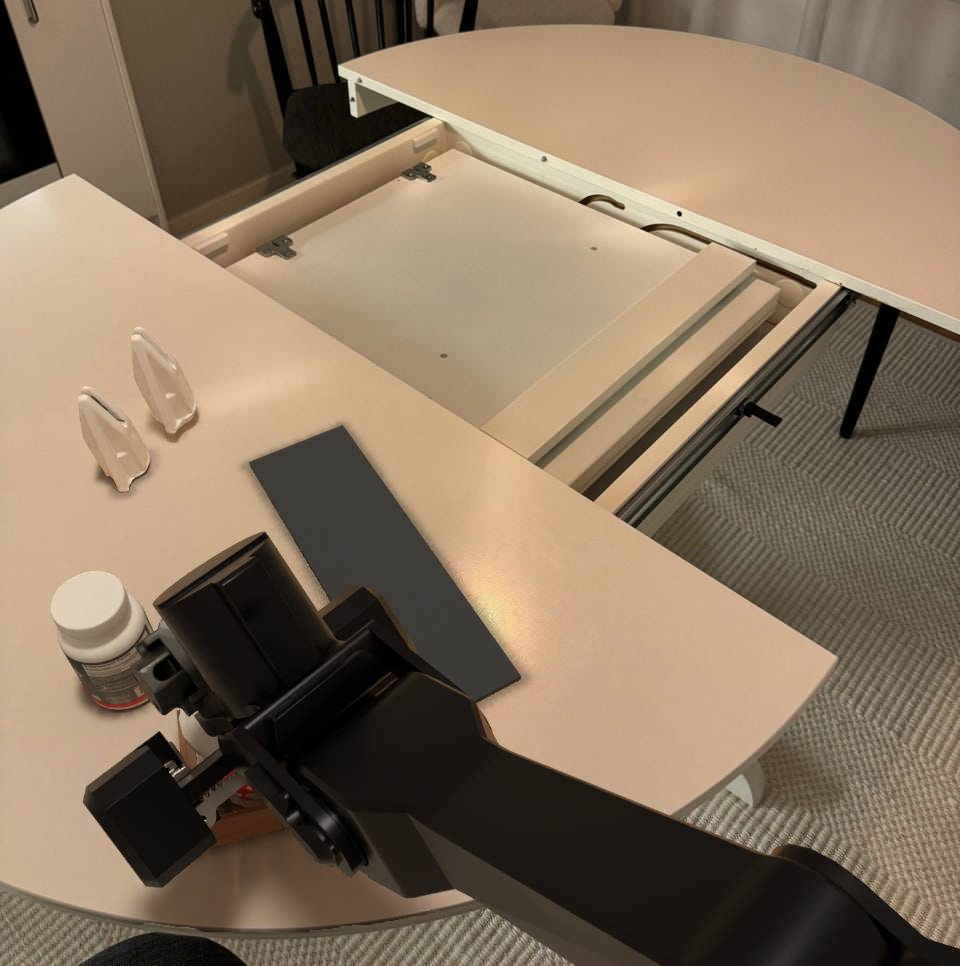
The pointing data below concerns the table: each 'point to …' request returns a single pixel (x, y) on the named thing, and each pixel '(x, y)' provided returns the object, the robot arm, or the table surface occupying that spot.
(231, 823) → the square wooden frame
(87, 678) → the pill bottle
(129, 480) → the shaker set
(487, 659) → the mat
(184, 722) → the beverage cup
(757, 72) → the table surface
